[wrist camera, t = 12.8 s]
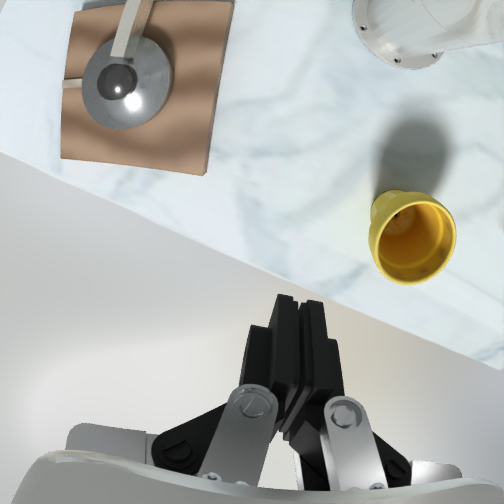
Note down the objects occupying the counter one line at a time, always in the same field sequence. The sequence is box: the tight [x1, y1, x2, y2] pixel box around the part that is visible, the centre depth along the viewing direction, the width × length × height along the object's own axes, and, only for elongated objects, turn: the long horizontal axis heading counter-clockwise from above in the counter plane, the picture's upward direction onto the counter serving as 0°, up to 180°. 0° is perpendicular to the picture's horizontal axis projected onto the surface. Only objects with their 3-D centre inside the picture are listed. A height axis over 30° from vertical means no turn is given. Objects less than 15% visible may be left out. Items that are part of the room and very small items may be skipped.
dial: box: [81, 0, 174, 130], centre depth 27 cm, size 21×12×4 cm, turn 164°
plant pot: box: [368, 190, 456, 285], centre depth 34 cm, size 10×10×10 cm
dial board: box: [61, 0, 234, 176], centre depth 32 cm, size 22×22×2 cm
